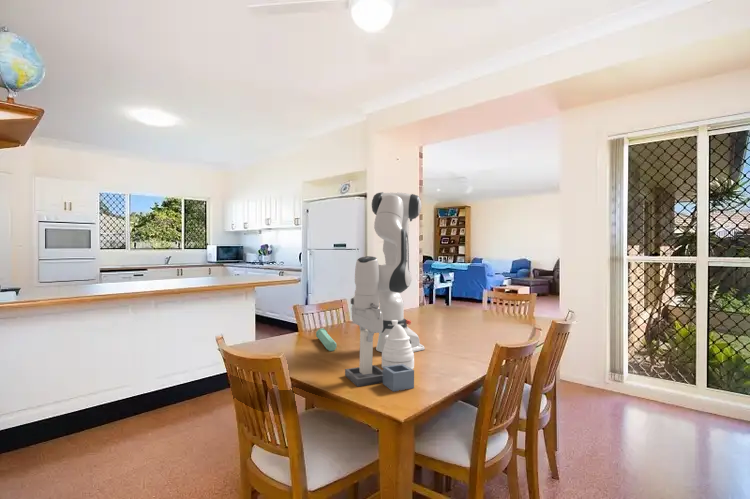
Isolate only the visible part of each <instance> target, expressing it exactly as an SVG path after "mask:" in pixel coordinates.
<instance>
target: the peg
mask: <svg viewBox="0 0 750 499" xmlns="http://www.w3.org/2000/svg"><path fill="white" fill-rule="evenodd" d="M359 333H360V334H359V366H358V367H359V372H360V373H362V374H363V375H364V374H372V365H373V352H374V351H373V349H374V340H373V341H372V342H367V336H368V332H367V329H366V330H360V329H359Z"/></svg>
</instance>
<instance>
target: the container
mask: <svg viewBox="0 0 750 499" xmlns="http://www.w3.org/2000/svg"><path fill="white" fill-rule="evenodd" d="M315 335H316V336H315V337H316V338H317V339H318V340H319V341H320V342H321V343H322V345H323V346H324V347H325V349H326V350H328V352H334V351H335V350H336V349H337V342H336V341H335V340H334V339H333V338H332V336H330V334H328V331H327V330H326V329H325V328H323V327H322V328H319V329H317V331H316V332H315Z"/></svg>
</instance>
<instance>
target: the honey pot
mask: <svg viewBox="0 0 750 499" xmlns="http://www.w3.org/2000/svg"><path fill="white" fill-rule="evenodd" d="M397 323H398V320H392V324H393V325H395V326H394V327H393V328H392V330H391V331H390V333H389V335H386V336H385V339H386V343H385V345H384V348H383V352H381V368H382V369H383V367H384V366H391V365H398V364H404V365H406V366H407V367H409V368H411V369H413V370H414V369H415V354H414V352H413V351H412V348H411V347H412V346H411V344H410V341H409V339H410V337H409V336H407V334H406V332H405V330H404V328H403V327H402V326H401V325H398V324H397Z"/></svg>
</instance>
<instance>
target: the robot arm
mask: <svg viewBox="0 0 750 499" xmlns="http://www.w3.org/2000/svg"><path fill="white" fill-rule="evenodd" d="M422 205H423V204H422V201H421V198H420V196H419V195H417V194H414V193H411V194H410V193H404V192H383V191H382V192H377V193H375V194H374V195H373V197H372V200H371V210H372V212H373V213H374V215H375V218H374V224H373V228H374V229H373V230H374V231H375V233H376V235H377V236H378V237H379V238H380V239H382V240H383V244H382V252H383V255H384V262H385V263H383V264H379V261H378V257H376V256H370V255H369V256H362V257H359V258H357V259H356V263H355V269H354V284H355V290H354V295H353V297H351V298H350V305H351V320H352V323H353V324H354V325H357V326H359V331H360V330H367V332H368V336H367V342H372V341H373V342H374V335H375V334H378V337H377V344H376V348H375V350H376V351H378V352H380V353H382V352H383V348H384V345H385V343H386V339H385V336H386V335H389V333H390V331H391V330H392V328H393V327H394V326H395V325H393V324H392V320H398V323H397V324H398V325H401V326H402V327H403V328H404V330H405V332H406V334H407V336H409V337H410V339H409V341H410V344H411V346H412V347H411V348H412V351H413V353H414V352H420V351H425V346H424V345H423V344H421V343H420V337H419V335H418V334H417V333H416V332H415V331H414V330H413V329H411V328H410V327H409V326H408V325H411V324H412V321H411V320H410V319H405V318H404V317H405V316H404V314H405V313H404V312H405V309H404V308H405V303H404V300H403V298H402V295H401V294H402V293H404V292H405V291H406V290H407V289H408V288H409V287H410V285H411V283H412V280H413V277H412V273H411V272H410V264H409V263H410V258H409V257H410V253H409V252H410V246H409V245H410V244H409V233H410V232H409V231H410V224H409V223H410V222H412V221H413V220H414V219H416V218H418V217H419V215H420V213H421V211H422Z"/></svg>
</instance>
